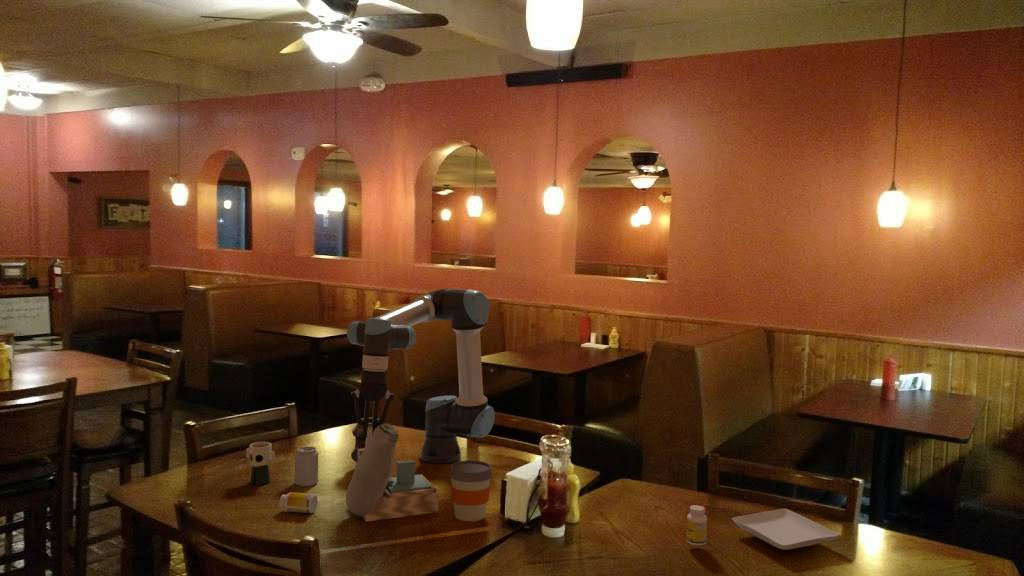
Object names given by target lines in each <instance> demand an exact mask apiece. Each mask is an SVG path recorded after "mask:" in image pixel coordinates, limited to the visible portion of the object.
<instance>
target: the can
mask: <svg viewBox="0 0 1024 576" xmlns="http://www.w3.org/2000/svg"><path fill="white" fill-rule="evenodd" d="M318 482H319V452H318V451H317V448H316V447H314V446H301V447H299V448H297V449H296V452H295V454H294V484H295V485H297V486H298V487H300V488H301V487H302V488H306V487H307V488H308V487H313V486H315V485H316V484H317V483H318Z"/></svg>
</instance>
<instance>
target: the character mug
mask: <svg viewBox="0 0 1024 576" xmlns="http://www.w3.org/2000/svg"><path fill="white" fill-rule="evenodd" d="M272 446H273V445H272V443H271V442H268V441H257V442H253V443H250V444H249V447H247V448H246V450H245V452H246V453H245V457H246V459H248V463H249V464H250V465H251V466H252V468H251V474H250V480H249V481H250V484H252V485H254V482H255V485H257V486H258V485H259V486H260V485H265V484H267V483H268V482H270V481H271V474H270V467H269V464H271V463H272V462H275V459H276V455H275V454H276V452H275V451H273V449H272Z"/></svg>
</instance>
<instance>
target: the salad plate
mask: <svg viewBox="0 0 1024 576" xmlns="http://www.w3.org/2000/svg"><path fill="white" fill-rule="evenodd" d="M731 521H733V523H734V524H735V525H736V526H738V527H740V528H741V529H742V530H744V531H747V532H748V533H749V534H751V535H752V536H754V537H756V538H758V539H760V540H762V541H764V542H765V543H767V544H769V545H771V546H773V547H775V548H777V549H780V550H786V551H788V550H795V549H799V548H804V547H805V548H806V547H809V546H813V545H817V544H821V543H822V544H823V543H827V542H831V541H834V540H835V539H837V538H838V537H839V536H840V534H839V533H838V532H836V531H834V530H832V529H830V528H827V527H826V526H823V525H822V524H819V523H818V522H816V521H813V520H811V519H810V518H807V517H805V516H804V515H801V514H798V512H794V511H792V510H790V509H788V508H779V509H774V510H773V509H772V510H768V511H762V512H757V513H751V514H745V515H739V516H734V517H732V518H731Z"/></svg>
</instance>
